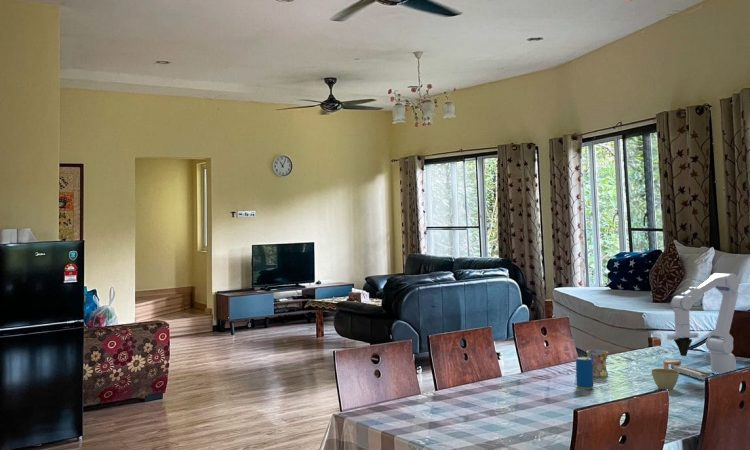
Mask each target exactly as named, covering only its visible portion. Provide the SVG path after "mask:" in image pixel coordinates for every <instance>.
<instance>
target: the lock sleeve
mask: <svg viewBox="0 0 750 450" xmlns="http://www.w3.org/2000/svg"><path fill="white" fill-rule="evenodd" d="M681 363H682V361H681V360H679V359H678V360H677V359H676V360H675V359H674V360H664V361H663V369H670V368H669V365H671V364H679V365H682V364H681Z"/></svg>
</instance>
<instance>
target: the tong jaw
mask: <svg viewBox="0 0 750 450" xmlns="http://www.w3.org/2000/svg"><path fill="white" fill-rule="evenodd" d="M677 371H678V372H679V374H683V375H687V376H689V375H690V376H689V377H692V378H696V377H697V378H698V380H700V379H702V380H706V379H705V378H706V374H703V373H700V372H697V371H693V370H690V369H687V368H683V367H677ZM697 378H696V379H697Z"/></svg>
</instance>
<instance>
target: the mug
mask: <svg viewBox="0 0 750 450" xmlns="http://www.w3.org/2000/svg"><path fill="white" fill-rule="evenodd" d="M586 355H587V356H586V357H589V358H591V360H592V362H593V378H595V377H596V378H604V377H607V376H609V373H608V369H607V359H608V358H607V357H608V355H609V351H607V350H601V349H589V350H586Z"/></svg>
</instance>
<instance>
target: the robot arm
mask: <svg viewBox="0 0 750 450" xmlns="http://www.w3.org/2000/svg"><path fill="white" fill-rule="evenodd" d="M708 277H709V278H708V279H706V280H704V282H702V283H701V284H700V285H698V286H689V287H688V289H687V290H686V291H684V292H681V293H680V295H675V296H673V297H672V299H671V301H670V305H671V307H672V311H673V313H674V330H675V331H674V333H671V334H667V335H666V338H667V340H669V341H674V342H675V344H676V346H677V348H678V352H679V355H680V356H683V357H687V355H688V351H689V348H690V346H691V344H692V342H693V339H699V332H691V328H690V327H691V323H690V310H691V309H692V307H693V305H694V304H695V303H696V302H698V301H700V299H701V300H702V298H703V296H704V294H705V293H707V292H709V291H710V290H712V289H714V288H715V289H716V290H717V291H718V292H719V293H721V295H722V298H721V303H720V308H719V311H718V316H717V320H716V324H715V328H714V329H713V330H712V331H711V332H709V334H708V337H707V339H706V340H705V347H706V349H707V350H708V353H710V371H712V372H716V373H719V374H720V373H725V372H729V371H734V370H736V371H737V362H736V356H735V355H734V354H733V353H732V352H733V351H734V337H733V336H732V334H730V330H731V327H732V326H731V325H732V323H733V319H734V318H733V317H734V313H735V310H736V309H735V308H736V305H737V300H738V296H739V292H738V291H739V286H740V282H741V281H740V279H739V278H738V276H737V274H735V273H722V272H721V273H719V272H715V273H713V274H711V275H709V276H708ZM715 375H716V376H718V375H717V374H715Z"/></svg>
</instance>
